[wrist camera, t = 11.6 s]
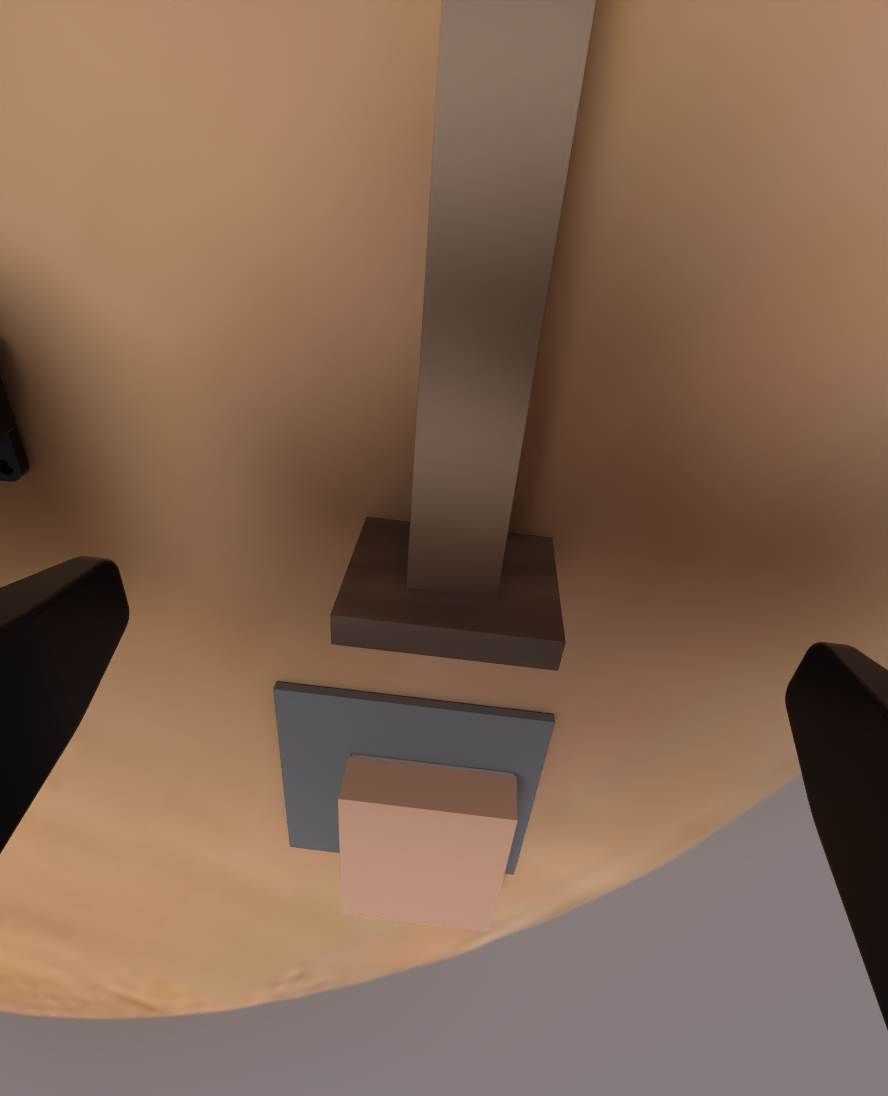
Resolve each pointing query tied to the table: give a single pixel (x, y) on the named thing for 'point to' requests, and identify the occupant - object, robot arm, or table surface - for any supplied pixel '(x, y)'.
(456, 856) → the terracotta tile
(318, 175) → the table surface
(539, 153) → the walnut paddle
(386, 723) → the charcoal mat
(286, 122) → the table surface
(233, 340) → the table surface
